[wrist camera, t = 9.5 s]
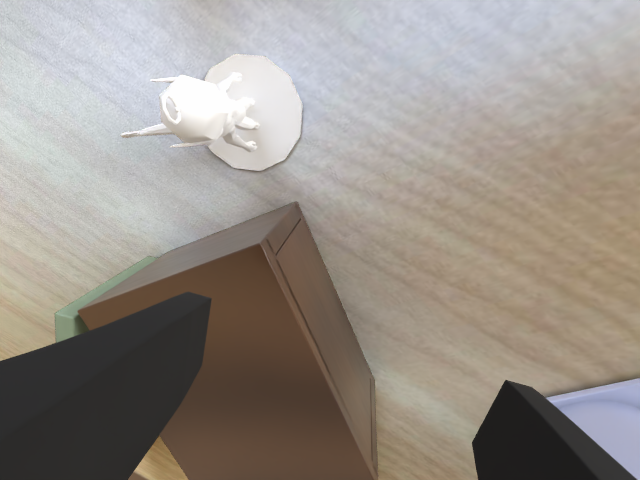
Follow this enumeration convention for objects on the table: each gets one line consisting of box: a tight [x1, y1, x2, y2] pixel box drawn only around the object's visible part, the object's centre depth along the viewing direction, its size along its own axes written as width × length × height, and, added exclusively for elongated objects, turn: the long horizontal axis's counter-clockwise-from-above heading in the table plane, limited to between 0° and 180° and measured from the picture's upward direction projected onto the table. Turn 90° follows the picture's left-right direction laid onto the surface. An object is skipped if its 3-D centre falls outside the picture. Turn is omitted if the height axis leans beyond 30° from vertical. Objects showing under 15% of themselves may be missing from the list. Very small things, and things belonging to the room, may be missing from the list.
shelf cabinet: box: [77, 202, 378, 480], centre depth 17 cm, size 12×8×6 cm
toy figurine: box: [121, 54, 303, 171], centre depth 13 cm, size 5×8×7 cm, turn 100°
